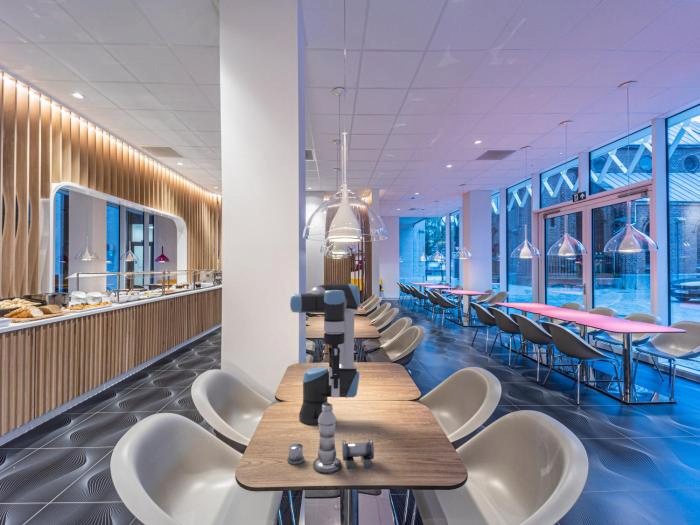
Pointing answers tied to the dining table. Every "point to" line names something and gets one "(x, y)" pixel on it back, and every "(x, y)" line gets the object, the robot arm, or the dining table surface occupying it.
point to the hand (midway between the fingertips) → (333, 390)
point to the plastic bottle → (327, 435)
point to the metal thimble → (295, 454)
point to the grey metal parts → (348, 457)
